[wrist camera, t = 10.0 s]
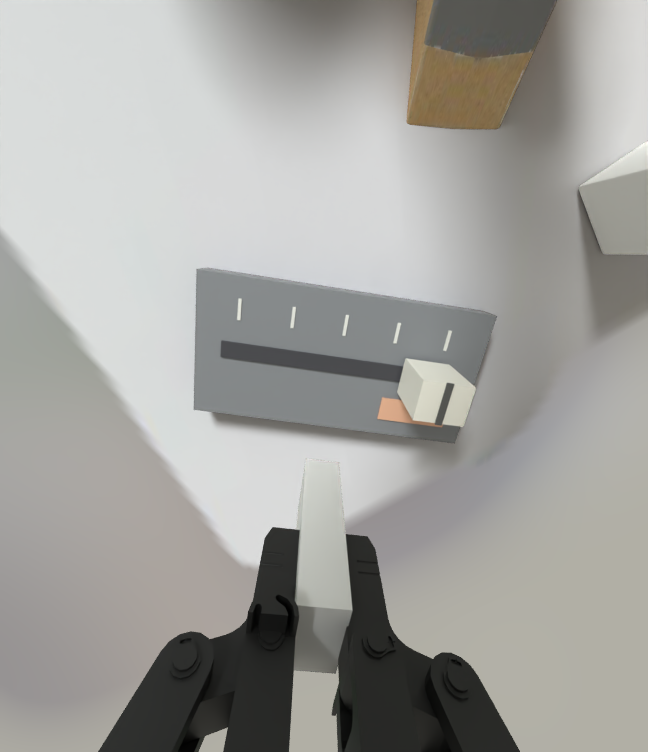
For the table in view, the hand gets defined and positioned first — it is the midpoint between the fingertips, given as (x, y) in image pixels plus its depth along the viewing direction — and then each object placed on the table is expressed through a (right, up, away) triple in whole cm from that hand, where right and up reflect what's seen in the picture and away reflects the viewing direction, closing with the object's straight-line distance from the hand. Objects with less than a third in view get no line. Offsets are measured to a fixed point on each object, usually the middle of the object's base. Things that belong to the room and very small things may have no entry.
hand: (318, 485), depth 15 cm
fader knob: (+10, +5, +18) cm, 21 cm away
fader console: (+2, +7, +21) cm, 22 cm away
